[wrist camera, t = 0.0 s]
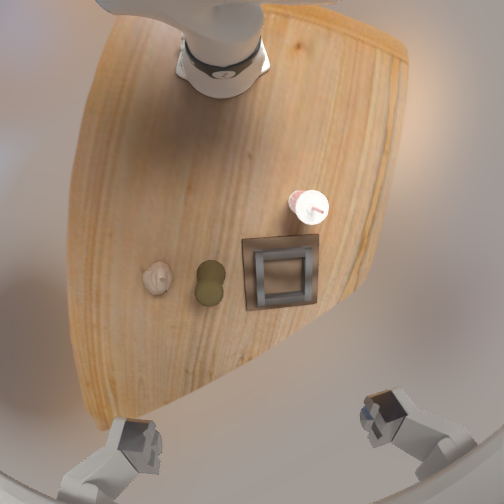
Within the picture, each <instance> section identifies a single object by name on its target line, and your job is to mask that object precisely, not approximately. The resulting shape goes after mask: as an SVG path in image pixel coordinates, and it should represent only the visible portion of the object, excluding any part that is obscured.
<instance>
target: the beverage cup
mask: <svg viewBox="0 0 504 504" xmlns="http://www.w3.org/2000/svg"><path fill="white" fill-rule="evenodd" d="M288 203H289V207H290V208H291V210H292V211H293V212H294V213H295V214H296V215H297V216H298V218H299V219H300V220H301V221H302V222H304V223H305V224H309V225H314V224H318V223H320V222H321V221H323V220H324V219H325V217H326V216H327V214H328V210H329V205H328V201H327V199H326V197H325V196H324V195H323V194H322V193H321V192H318V191H314V190H309V191H295V192H293V193H292V194H291V195H290V197H289V200H288Z"/></svg>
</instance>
